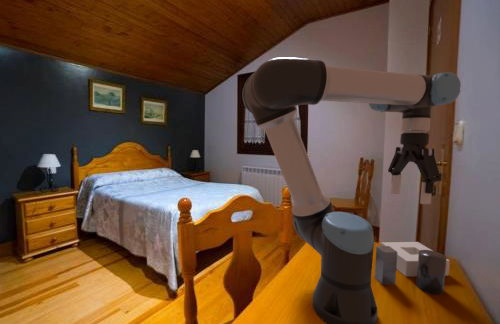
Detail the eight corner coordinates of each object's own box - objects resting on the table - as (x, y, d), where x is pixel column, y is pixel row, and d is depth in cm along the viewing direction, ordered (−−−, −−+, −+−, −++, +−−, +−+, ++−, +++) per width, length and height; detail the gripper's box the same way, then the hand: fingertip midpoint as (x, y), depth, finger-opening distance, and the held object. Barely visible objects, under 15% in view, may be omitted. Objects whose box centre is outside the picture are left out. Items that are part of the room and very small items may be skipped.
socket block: (405, 276, 77) (406, 261, 77) (380, 255, 91) (380, 242, 91) (448, 275, 78) (449, 260, 77) (416, 254, 92) (417, 241, 91)
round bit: (427, 295, 68) (430, 260, 67) (411, 281, 74) (413, 249, 74) (449, 294, 68) (452, 260, 67) (431, 281, 75) (434, 249, 74)
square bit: (382, 284, 73) (384, 252, 72) (374, 277, 77) (376, 246, 76) (395, 284, 73) (397, 252, 72) (387, 276, 77) (389, 246, 76)
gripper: (462, 131, 66) (454, 209, 68) (399, 133, 91) (395, 190, 92) (435, 130, 65) (428, 208, 67) (380, 133, 90) (376, 190, 92)
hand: (409, 198), depth 80 cm, fingers open, 13 cm apart
